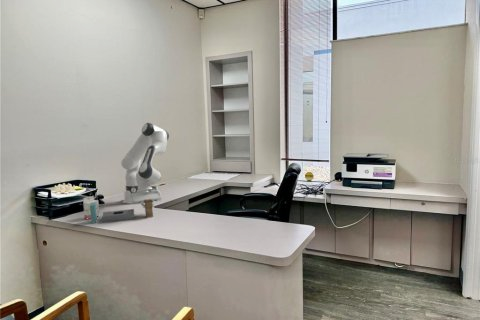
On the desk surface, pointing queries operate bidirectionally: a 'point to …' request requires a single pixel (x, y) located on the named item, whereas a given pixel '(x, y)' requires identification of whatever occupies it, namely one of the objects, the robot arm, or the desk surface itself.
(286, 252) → the desk surface
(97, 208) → the ink cartridge box
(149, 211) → the walnut square bit
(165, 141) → the robot arm
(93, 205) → the teal flat bit
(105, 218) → the metal bore block
